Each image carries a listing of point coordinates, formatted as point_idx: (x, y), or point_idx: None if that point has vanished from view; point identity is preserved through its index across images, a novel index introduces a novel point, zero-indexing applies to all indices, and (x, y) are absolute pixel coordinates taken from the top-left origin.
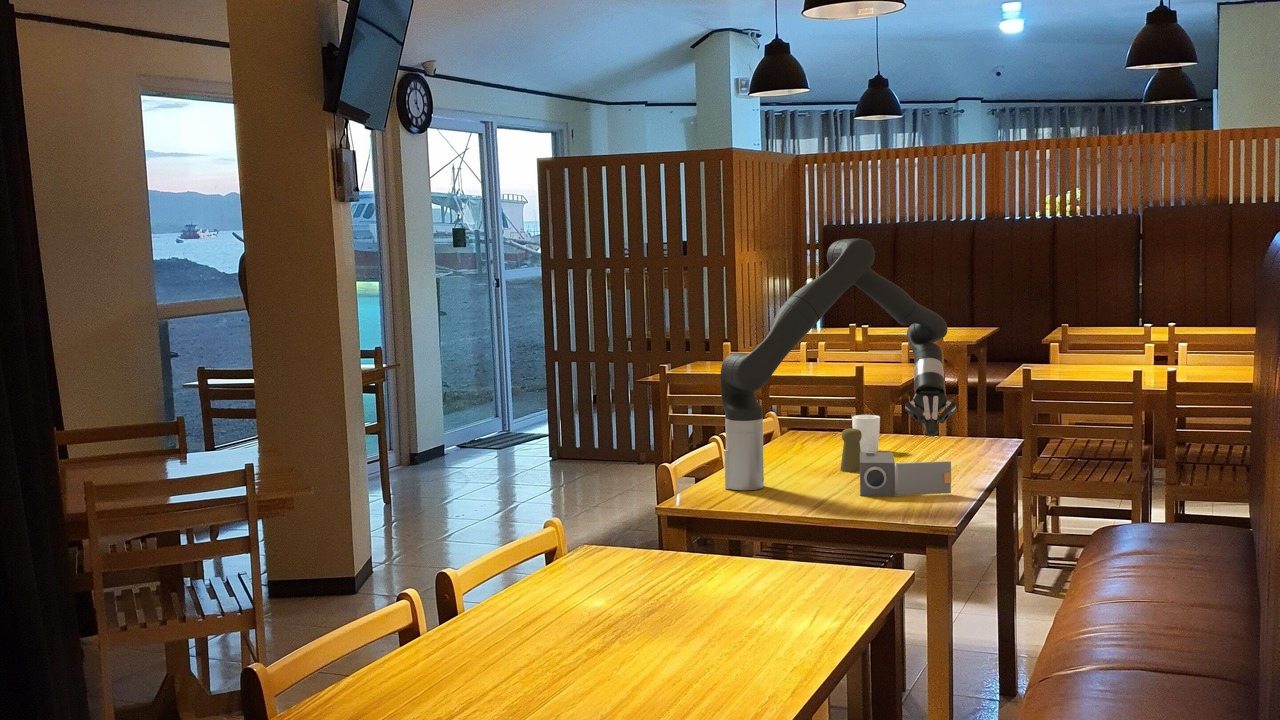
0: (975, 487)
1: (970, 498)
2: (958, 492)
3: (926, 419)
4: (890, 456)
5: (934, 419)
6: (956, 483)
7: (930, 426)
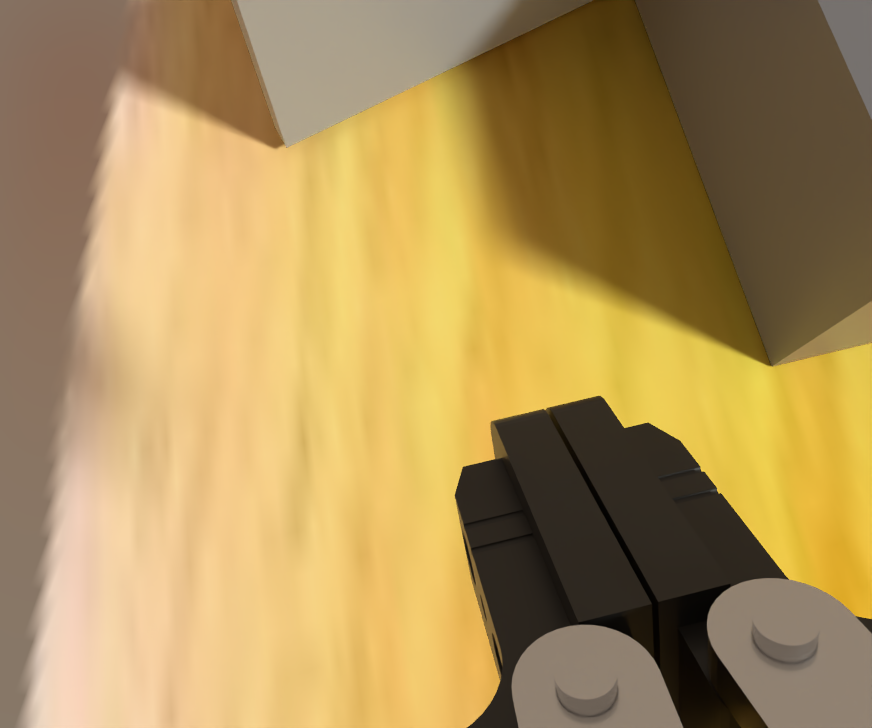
0: (116, 451)
1: (138, 72)
2: (233, 231)
3: (792, 594)
4: (863, 26)
5: (578, 630)
6: (282, 573)
7: (607, 464)
